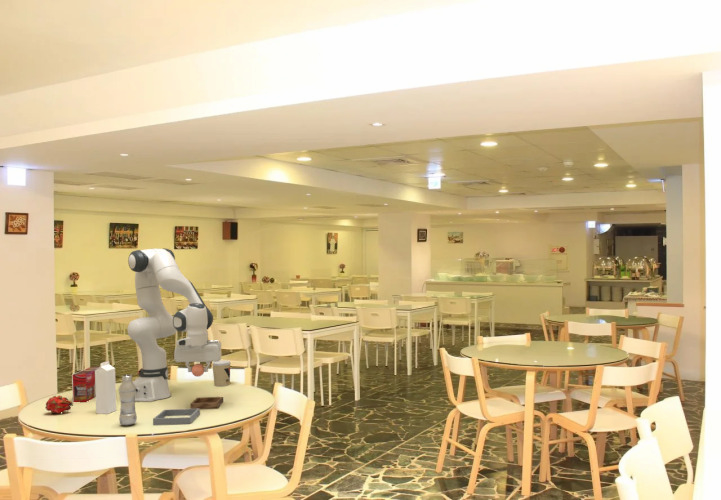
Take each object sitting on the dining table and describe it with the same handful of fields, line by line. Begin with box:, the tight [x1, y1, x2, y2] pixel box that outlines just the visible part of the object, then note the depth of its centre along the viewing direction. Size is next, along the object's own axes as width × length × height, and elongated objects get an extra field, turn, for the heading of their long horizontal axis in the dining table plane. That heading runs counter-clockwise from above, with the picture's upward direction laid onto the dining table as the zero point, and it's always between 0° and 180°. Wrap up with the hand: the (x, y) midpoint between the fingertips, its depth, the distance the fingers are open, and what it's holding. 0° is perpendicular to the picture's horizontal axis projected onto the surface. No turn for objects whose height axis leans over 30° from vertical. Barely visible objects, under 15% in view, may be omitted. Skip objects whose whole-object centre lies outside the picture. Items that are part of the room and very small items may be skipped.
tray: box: [189, 396, 224, 410], centre depth 284 cm, size 12×12×2 cm
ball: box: [191, 363, 205, 378], centre depth 278 cm, size 6×6×6 cm
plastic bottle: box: [118, 374, 138, 426], centre depth 255 cm, size 6×7×20 cm
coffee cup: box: [212, 360, 231, 388], centre depth 329 cm, size 9×9×12 cm
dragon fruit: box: [44, 395, 74, 414], centre depth 278 cm, size 8×8×12 cm
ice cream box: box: [71, 366, 100, 403], centre depth 309 cm, size 20×6×13 cm, turn 1°
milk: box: [95, 360, 117, 415], centre depth 278 cm, size 6×6×22 cm
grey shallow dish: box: [152, 408, 201, 426], centre depth 261 cm, size 15×15×2 cm
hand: (198, 371), depth 278 cm, fingers closed on ball, 6 cm apart
